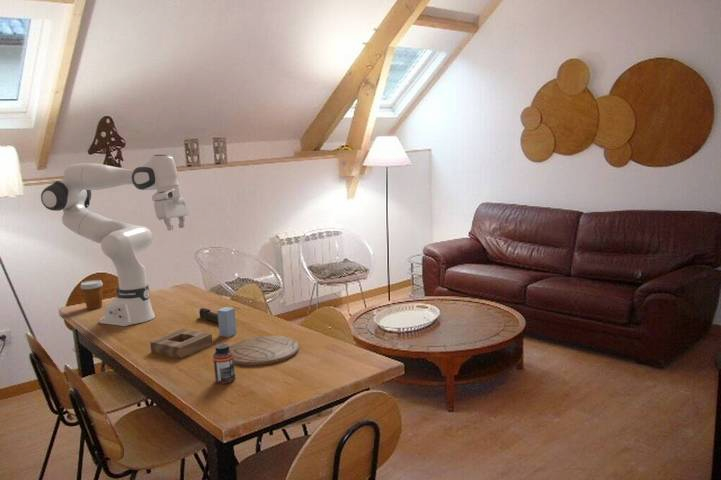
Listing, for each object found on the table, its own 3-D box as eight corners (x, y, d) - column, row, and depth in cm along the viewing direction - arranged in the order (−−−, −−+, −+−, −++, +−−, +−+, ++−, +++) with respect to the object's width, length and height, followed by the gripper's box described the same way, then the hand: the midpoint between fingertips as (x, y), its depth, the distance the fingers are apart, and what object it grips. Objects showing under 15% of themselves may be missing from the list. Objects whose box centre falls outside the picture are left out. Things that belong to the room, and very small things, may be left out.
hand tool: (232, 324, 237) (231, 313, 236) (223, 327, 234) (222, 315, 233) (206, 316, 250) (205, 305, 249) (197, 318, 247) (196, 308, 246)
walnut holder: (151, 352, 209) (150, 341, 208) (183, 339, 222) (182, 328, 221) (181, 358, 202) (180, 347, 201) (212, 344, 214) (211, 333, 214)
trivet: (262, 336, 221) (262, 331, 221) (313, 347, 207) (313, 342, 207) (210, 358, 201) (209, 353, 201) (263, 373, 187) (262, 367, 187)
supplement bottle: (217, 377, 184) (213, 342, 182) (236, 375, 185) (233, 341, 183) (214, 385, 178) (210, 349, 176) (234, 383, 179) (230, 348, 177)
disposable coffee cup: (100, 310, 266) (96, 284, 264) (79, 311, 266) (75, 285, 264) (109, 304, 276) (106, 279, 273) (89, 305, 276) (85, 280, 274)
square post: (219, 335, 224) (217, 310, 222) (227, 331, 227) (225, 306, 226) (228, 337, 221) (226, 311, 220) (236, 333, 225) (234, 308, 223)
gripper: (175, 194, 244) (181, 227, 246) (149, 197, 224) (156, 232, 226) (189, 192, 243) (195, 225, 244) (164, 194, 223) (171, 230, 224)
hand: (176, 229), depth 235 cm, fingers open, 8 cm apart
